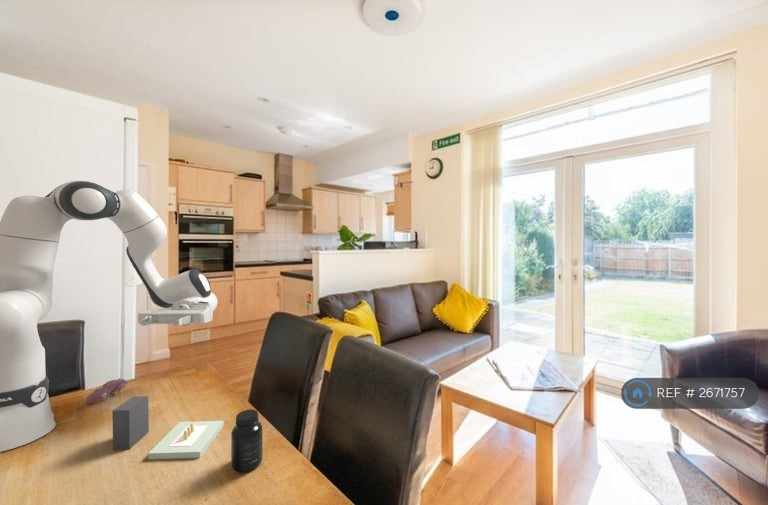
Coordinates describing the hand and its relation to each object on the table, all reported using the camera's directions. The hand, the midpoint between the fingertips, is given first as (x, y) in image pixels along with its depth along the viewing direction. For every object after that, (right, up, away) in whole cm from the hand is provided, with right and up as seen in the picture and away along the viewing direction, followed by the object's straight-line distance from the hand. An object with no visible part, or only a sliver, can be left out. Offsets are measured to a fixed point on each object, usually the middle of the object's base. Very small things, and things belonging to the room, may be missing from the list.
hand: (160, 322), depth 93 cm
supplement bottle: (+34, -29, -19) cm, 49 cm away
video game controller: (-25, -27, +10) cm, 38 cm away
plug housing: (0, -28, -11) cm, 30 cm away
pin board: (+15, -29, -11) cm, 34 cm away
